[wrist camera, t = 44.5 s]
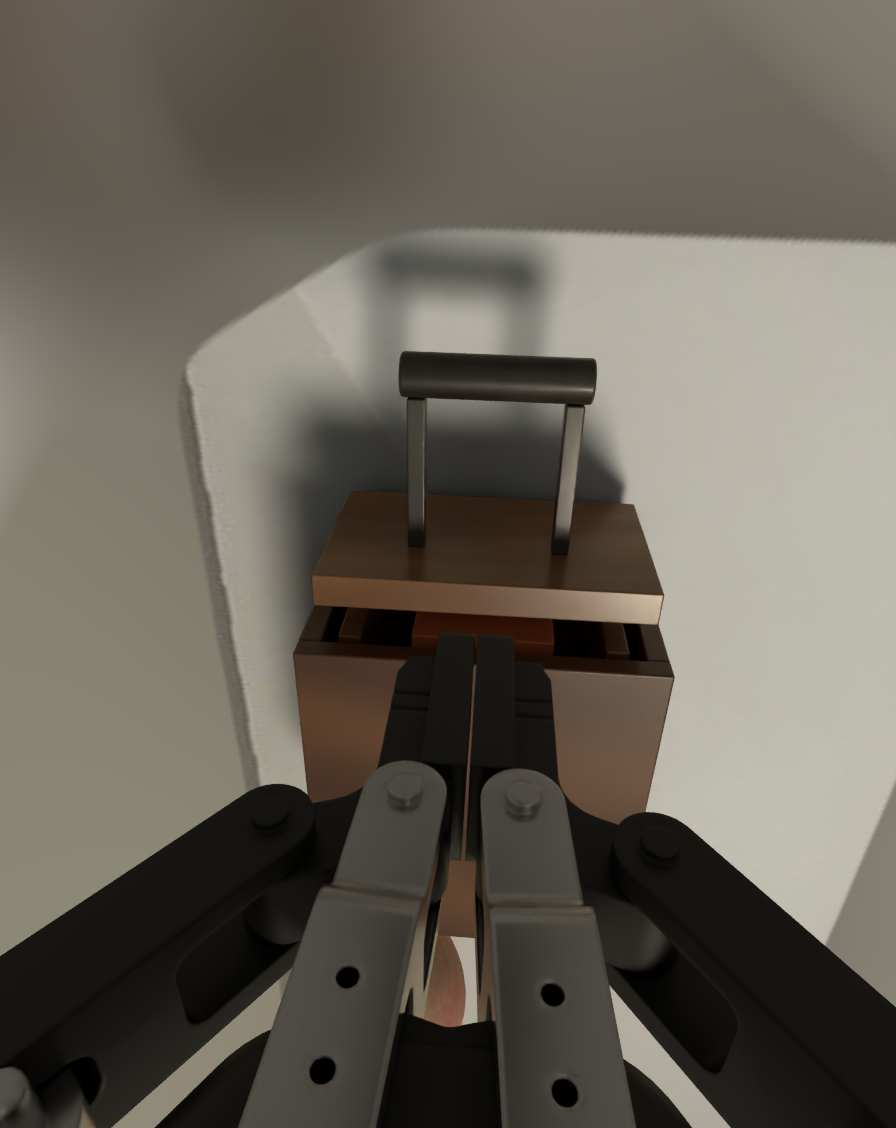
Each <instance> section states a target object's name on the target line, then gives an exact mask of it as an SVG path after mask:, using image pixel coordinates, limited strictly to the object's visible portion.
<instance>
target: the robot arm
mask: <svg viewBox="0 0 896 1128" xmlns="http://www.w3.org/2000/svg"><path fill="white" fill-rule="evenodd" d="M474 647H475V634H467V633H450V632H439V637H438V644H437V651H436V657H430V656H414V655H411V657H410V658H409V659H408V660H407V661H406V662H405V663H404V665H403V666H402V667H401V668H400V669H399V670H398V672H397V677H396V682H395V686H394V694H393V696H392V701H391V707H390V710H389V715H388V720H387V725H386V730H385V734H384V739H383V744H382V749H381V754H380V759H379V763H378V767H377V770H375V771H374V772H373V773H372V774H371V775H370V776H369V777H368V779H367V780H366V782H365V784H364V786H363V787H361V788H360V789H359V790H357V791H355V792H353V793H351V794H349V795H346V796H343V797H340V798H336V799H331V800H326V801H321V802H316V803H312V801H311V799H310V797H309V796H308V795H307V794H306V793H305V792H303V791H302V790H300V789H298V788H296V787H294V786H290V785H285V784H270V785H265V786H261V787H258V788H255V789H253V790H251V791H249V792H247V793H245V794H244V795H242V796H241V797H239V798H238V799H236V800H235V801H234V802H232V803H230V804H229V805H227V806H226V807H224V808H223V809H221V810H220V811H218V812H217V813H215V814H214V815H212V816H211V817H209V818H208V819H206V820H205V821H203V822H202V823H200V824H199V825H197V826H196V827H194V828H193V829H191V830H190V831H188V832H187V833H185V834H184V835H182V836H181V837H179V838H178V839H176V840H174V841H173V842H172V843H170V844H169V845H167V846H165V847H164V848H162V849H161V850H159V851H158V852H156V853H155V854H153V855H152V856H150V857H149V858H147V859H146V860H144V861H143V862H141V863H140V864H139V865H137V866H136V867H134V868H133V869H131V870H129V871H128V872H126V873H125V874H123V875H122V876H120V877H119V878H117V879H116V880H114V881H113V882H112V883H110V884H108V885H107V886H105V887H104V888H102V889H101V890H99V891H98V892H96V893H95V894H93V895H92V896H90V897H89V898H87V899H86V900H84V901H83V902H81V903H80V904H78V905H77V906H75V907H74V908H72V909H71V910H69V911H68V912H66V913H65V914H63V915H62V916H60V917H59V918H57V919H55V920H54V921H52V922H51V923H50V924H48V925H46V926H45V927H44V928H42V929H40V930H39V931H38V932H36V933H34V934H33V935H31V936H30V937H28V938H27V939H25V940H24V941H22V942H21V943H19V944H18V945H16V946H15V947H14V948H12V949H10V950H9V951H7V952H6V953H5V954H3V955H1V956H0V1128H111V1127H112V1126H114V1125H115V1124H116V1123H117V1122H118V1121H119V1120H120V1119H122V1118H123V1117H124V1116H125V1115H126V1114H127V1113H128V1112H129V1111H131V1110H132V1109H133V1108H134V1107H135V1106H136V1105H137V1104H138V1103H140V1102H141V1101H142V1100H143V1099H144V1098H145V1097H146V1096H148V1094H150V1093H151V1092H152V1091H153V1090H154V1089H155V1088H157V1087H158V1086H159V1085H160V1084H161V1083H162V1082H163V1081H164V1080H166V1079H167V1078H168V1077H169V1076H170V1075H171V1074H172V1073H173V1072H175V1071H176V1070H177V1069H178V1068H179V1067H180V1066H181V1065H183V1064H184V1063H185V1062H186V1061H187V1060H188V1059H189V1058H190V1057H192V1055H194V1054H195V1053H196V1052H197V1051H198V1050H199V1049H201V1048H202V1047H203V1046H204V1045H205V1044H206V1043H207V1042H208V1041H210V1040H211V1039H212V1038H213V1037H214V1036H215V1035H216V1034H217V1033H219V1032H220V1031H221V1030H222V1029H223V1028H224V1027H225V1026H227V1025H228V1024H229V1023H230V1022H231V1021H232V1020H233V1019H234V1018H236V1017H237V1016H238V1015H239V1014H240V1013H241V1012H242V1011H243V1010H245V1009H246V1008H247V1007H248V1006H249V1005H250V1004H251V1003H253V1002H254V1001H255V1000H256V999H257V998H258V997H259V996H260V995H262V994H263V993H264V992H265V991H266V990H267V989H268V988H269V987H270V986H272V985H273V984H274V983H275V982H276V981H277V980H279V979H280V978H281V977H282V976H283V975H284V974H285V973H286V972H288V971H289V970H290V969H291V968H292V970H291V973H290V976H289V979H288V982H287V985H286V988H285V991H284V994H283V997H282V1000H281V1002H280V1005H279V1008H278V1011H277V1014H276V1018H275V1020H274V1023H273V1027H272V1029H271V1030H269V1031H267V1032H265V1033H262V1034H261V1035H259V1036H257V1037H255V1038H254V1039H252V1040H251V1041H249V1042H247V1043H245V1044H244V1045H243V1046H241V1047H240V1048H239V1049H238V1050H236V1051H235V1052H234V1053H232V1054H231V1055H230V1056H228V1057H227V1058H226V1059H225V1060H224V1061H223V1062H222V1063H221V1064H220V1065H218V1066H217V1067H216V1068H215V1069H214V1070H213V1071H212V1073H210V1074H209V1075H208V1076H207V1077H206V1078H205V1079H204V1080H203V1081H202V1082H201V1083H200V1084H199V1085H198V1086H197V1087H196V1088H195V1089H194V1090H193V1091H192V1092H191V1093H190V1094H189V1095H188V1096H187V1097H186V1098H185V1099H184V1100H183V1101H181V1102H180V1104H178V1105H177V1106H176V1107H175V1108H174V1109H173V1110H172V1111H171V1112H170V1113H169V1114H168V1115H167V1116H166V1117H165V1118H164V1119H163V1120H162V1121H161V1122H160V1123H159V1124H158V1125H157V1126H156V1127H155V1128H692V1127H691V1126H690V1124H689V1123H688V1122H687V1121H686V1119H685V1118H684V1117H683V1115H682V1114H681V1113H680V1111H679V1110H678V1109H677V1108H676V1106H675V1105H674V1104H673V1103H672V1101H671V1100H670V1099H669V1098H668V1097H667V1096H666V1095H665V1093H664V1092H663V1091H662V1090H661V1089H660V1088H659V1087H658V1086H657V1085H656V1084H655V1083H654V1082H653V1081H652V1080H651V1079H649V1078H648V1077H647V1076H646V1075H645V1074H643V1073H642V1072H641V1071H640V1070H639V1069H637V1068H636V1067H635V1066H633V1065H632V1064H630V1063H629V1062H627V1061H626V1060H624V1059H623V1056H622V1050H621V1045H620V1040H619V1035H618V1029H617V1024H616V1019H615V1014H614V1008H613V1003H612V998H611V993H610V987H609V985H610V986H611V987H612V989H613V990H614V991H615V992H616V993H617V994H618V996H619V997H620V998H621V999H622V1000H623V1001H624V1003H625V1004H626V1005H627V1006H628V1007H629V1009H630V1010H631V1011H632V1012H633V1013H634V1014H635V1016H636V1017H637V1018H638V1019H639V1020H640V1021H641V1023H642V1024H643V1025H644V1026H645V1027H646V1028H647V1030H648V1031H649V1032H650V1033H651V1034H652V1036H653V1037H654V1038H655V1039H656V1040H657V1041H658V1043H659V1044H660V1045H661V1046H662V1047H663V1048H664V1050H665V1051H666V1052H667V1053H668V1054H669V1055H670V1057H671V1058H672V1059H673V1060H674V1061H675V1062H676V1064H677V1065H678V1066H679V1067H680V1068H681V1070H682V1071H683V1072H684V1073H685V1074H686V1075H687V1077H688V1078H689V1079H690V1080H691V1081H692V1082H693V1084H694V1085H695V1086H696V1087H697V1088H698V1089H699V1091H700V1092H701V1093H702V1094H703V1095H704V1097H705V1098H706V1099H707V1100H708V1101H709V1102H710V1104H711V1105H712V1106H713V1107H714V1108H715V1109H716V1111H717V1112H718V1113H719V1114H720V1115H721V1116H722V1118H723V1119H724V1120H725V1121H726V1122H727V1123H728V1125H729V1126H730V1127H731V1128H896V1007H895V1006H894V1005H892V1004H891V1003H890V1002H889V1001H888V1000H887V999H886V998H884V997H883V996H882V995H881V994H880V993H879V992H877V991H876V990H875V989H874V988H873V987H872V986H871V985H869V984H868V983H867V982H866V981H865V980H864V979H863V978H861V977H860V976H859V975H858V974H857V973H856V972H854V971H853V970H852V969H851V968H850V967H849V966H848V965H846V964H845V963H844V962H843V961H842V960H841V959H839V958H838V957H837V956H836V955H835V954H834V953H833V952H831V951H830V950H829V949H828V948H827V947H826V946H825V945H823V944H822V943H821V942H820V941H819V940H818V939H816V938H815V937H814V936H813V935H812V934H811V933H810V932H808V931H807V930H806V929H805V928H804V927H803V926H802V925H800V924H799V923H798V922H797V921H796V920H795V919H793V918H792V917H791V916H790V915H789V914H788V913H787V912H785V911H784V910H783V909H782V908H781V907H780V906H778V905H777V904H776V903H775V902H774V901H773V900H772V899H770V898H769V897H768V896H767V895H766V894H765V893H764V892H762V891H761V890H760V889H759V888H758V887H757V886H755V885H754V884H753V883H752V882H751V881H750V880H749V879H747V878H746V877H745V876H744V875H743V874H742V873H741V872H739V871H738V870H737V869H736V868H735V867H734V866H732V865H731V864H730V863H729V862H728V861H727V860H726V859H724V858H723V857H722V856H721V855H720V854H719V853H717V852H716V851H715V850H714V849H713V848H712V847H711V846H709V845H708V844H707V843H706V842H705V841H704V840H703V839H701V838H700V837H699V836H698V835H697V834H696V833H694V832H693V831H692V830H691V829H690V828H689V827H687V826H686V825H685V824H683V823H682V822H680V821H678V820H677V819H674V818H672V817H670V816H667V815H664V814H660V813H654V812H643V813H637V814H633V815H631V816H629V817H627V818H625V819H624V820H622V821H621V822H620V824H619V825H618V824H615V823H612V822H609V821H606V820H603V819H601V818H598V817H595V816H593V815H590V814H588V813H586V812H585V811H583V810H581V809H580V808H579V807H577V806H576V805H575V804H574V803H572V802H571V801H570V800H569V798H568V797H567V796H566V795H565V793H564V791H563V790H562V788H561V785H560V783H559V777H558V765H557V751H556V738H555V724H554V711H553V697H552V684H551V680H550V678H549V677H548V675H547V674H546V672H545V671H544V669H543V668H542V666H541V665H540V663H528V662H514V636H502V635H485V634H478V646H477V662H476V678H475V694H474V709H473V725H472V741H471V757H470V774H469V793H468V813H467V832H466V851H465V861H473V862H476V875H475V895H474V926H475V954H476V981H477V1014H478V1022H477V1023H472V1024H467V1025H461V1026H456V1027H445V1026H441V1025H438V1024H435V1023H433V1022H430V1021H427V1020H425V1019H424V1014H425V1007H426V1000H427V994H428V988H429V983H430V977H431V971H432V965H433V959H434V953H435V948H436V942H437V936H438V930H439V924H440V918H441V913H442V907H443V896H444V893H445V890H446V888H447V883H448V873H449V861H450V860H457V861H461V856H462V841H463V826H464V811H465V796H466V781H467V766H468V752H469V737H470V722H471V705H472V686H473V666H474Z"/></svg>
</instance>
